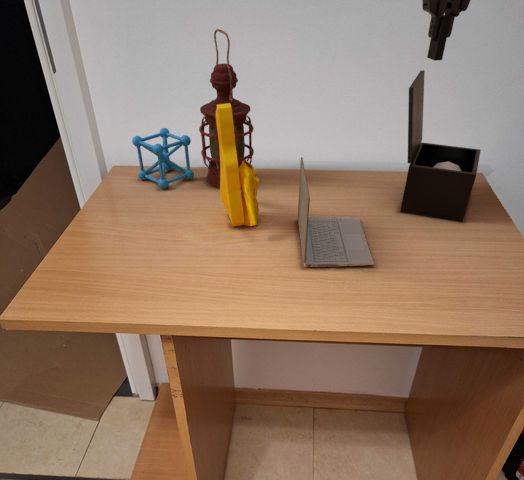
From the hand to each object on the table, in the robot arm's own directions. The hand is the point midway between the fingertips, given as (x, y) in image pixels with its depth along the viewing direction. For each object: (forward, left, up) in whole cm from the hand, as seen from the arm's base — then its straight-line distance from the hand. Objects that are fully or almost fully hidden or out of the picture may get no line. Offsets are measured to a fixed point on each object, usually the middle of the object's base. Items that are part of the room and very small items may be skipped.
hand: (434, 58), depth 89 cm
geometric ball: (-7, -1, -26) cm, 27 cm away
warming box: (-6, 0, -27) cm, 28 cm away
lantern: (+41, +5, -27) cm, 49 cm away
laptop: (+10, +25, -27) cm, 38 cm away
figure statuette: (+30, +23, -27) cm, 46 cm away
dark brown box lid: (+1, 0, -10) cm, 10 cm away
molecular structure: (+55, +10, -27) cm, 62 cm away
